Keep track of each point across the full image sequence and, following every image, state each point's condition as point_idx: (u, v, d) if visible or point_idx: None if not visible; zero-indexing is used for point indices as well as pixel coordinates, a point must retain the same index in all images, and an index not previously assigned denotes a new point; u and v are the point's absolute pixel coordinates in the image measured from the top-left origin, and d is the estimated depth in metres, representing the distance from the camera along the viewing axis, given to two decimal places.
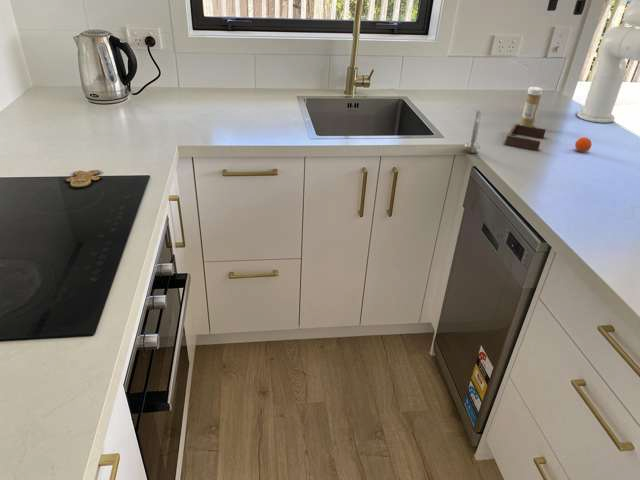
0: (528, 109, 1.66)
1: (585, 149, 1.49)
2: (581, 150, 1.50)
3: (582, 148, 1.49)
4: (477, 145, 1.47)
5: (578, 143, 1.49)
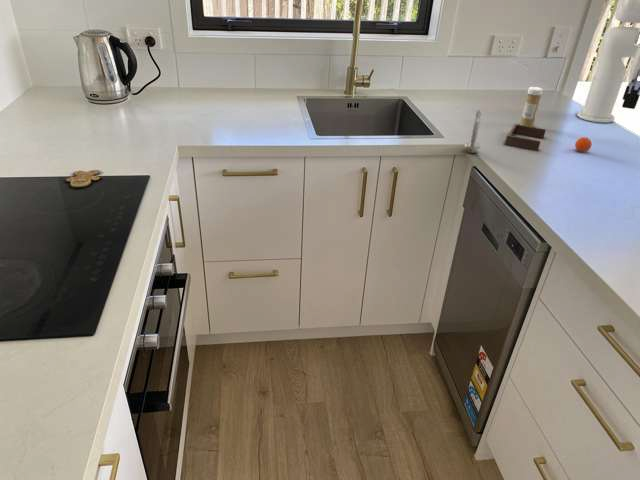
0: (528, 109, 1.66)
1: (585, 149, 1.49)
2: (581, 150, 1.50)
3: (582, 148, 1.49)
4: (477, 145, 1.47)
5: (578, 143, 1.49)
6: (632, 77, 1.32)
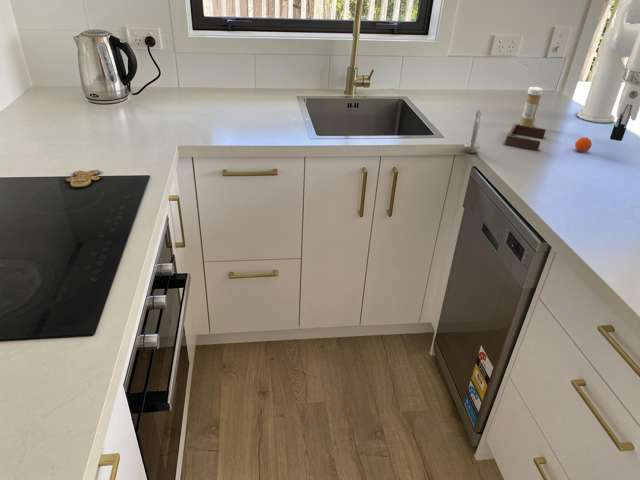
0: (528, 109, 1.66)
1: (585, 149, 1.49)
2: (581, 150, 1.50)
3: (582, 148, 1.49)
4: (477, 145, 1.47)
5: (578, 143, 1.49)
6: (620, 112, 1.37)
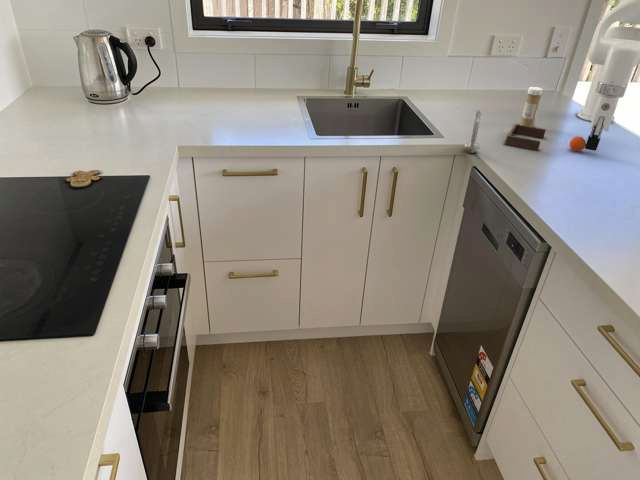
0: (528, 109, 1.66)
1: (581, 147, 1.49)
2: (579, 149, 1.50)
3: (578, 148, 1.49)
4: (477, 145, 1.47)
5: (571, 146, 1.50)
6: (593, 123, 1.42)
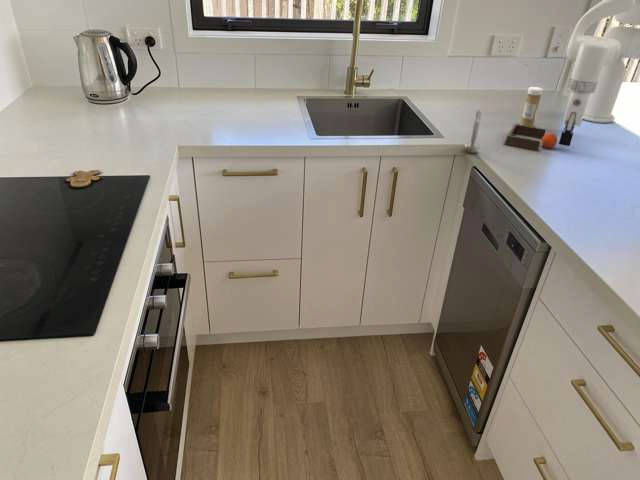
0: (528, 109, 1.66)
1: (546, 143, 1.52)
2: (546, 139, 1.51)
3: (549, 141, 1.51)
4: (477, 145, 1.47)
5: (554, 138, 1.51)
6: (565, 119, 1.45)
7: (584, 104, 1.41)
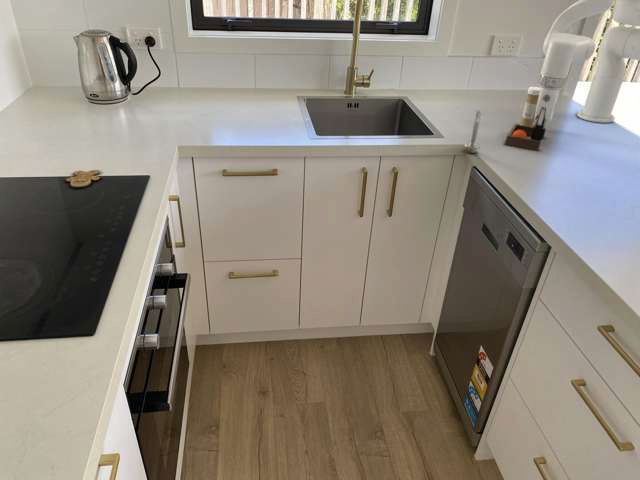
0: (528, 109, 1.66)
1: (520, 136, 1.53)
2: None
3: None
4: (477, 145, 1.47)
5: None
6: (536, 114, 1.48)
7: (553, 99, 1.44)
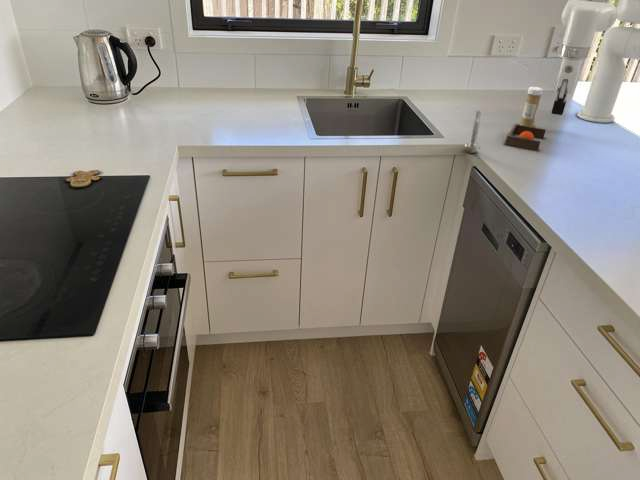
0: (528, 109, 1.66)
1: None
2: None
3: None
4: (477, 145, 1.47)
5: None
6: (557, 86, 1.42)
7: (576, 70, 1.38)
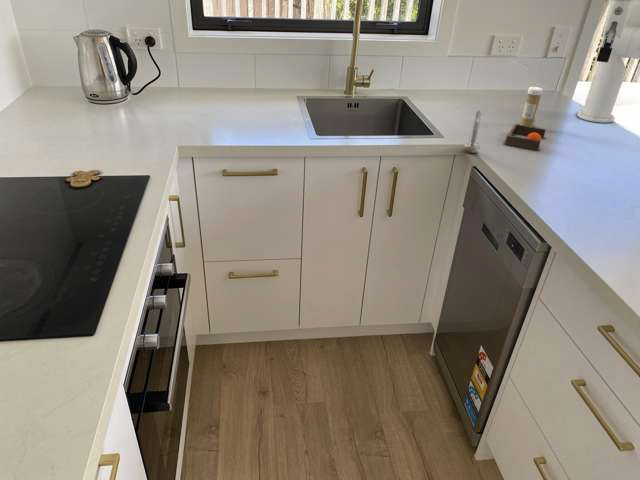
0: (528, 109, 1.66)
1: None
2: None
3: None
4: (477, 145, 1.47)
5: None
6: (606, 30, 1.39)
7: (626, 12, 1.35)
